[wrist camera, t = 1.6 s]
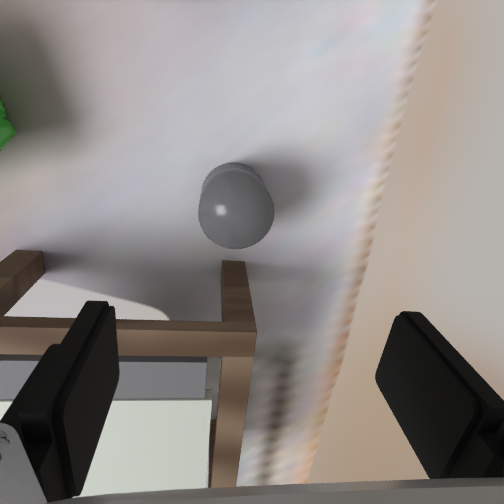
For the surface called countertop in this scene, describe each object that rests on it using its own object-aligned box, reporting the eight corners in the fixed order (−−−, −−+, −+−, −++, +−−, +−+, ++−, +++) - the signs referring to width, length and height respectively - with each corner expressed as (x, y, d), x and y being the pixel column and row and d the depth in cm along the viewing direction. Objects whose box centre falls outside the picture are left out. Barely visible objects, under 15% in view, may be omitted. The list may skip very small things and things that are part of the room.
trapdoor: (-7, 344, 21) (-22, 361, 20) (214, 348, 23) (214, 363, 22) (37, 506, 28) (28, 526, 27) (203, 498, 30) (202, 517, 29)
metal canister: (202, 159, 26) (200, 173, 22) (268, 165, 27) (278, 180, 22) (200, 222, 28) (197, 246, 24) (260, 226, 29) (269, 250, 24)
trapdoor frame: (15, 250, 28) (-82, 325, 19) (244, 261, 30) (256, 332, 21) (53, 435, 37) (1, 545, 28) (226, 432, 39) (229, 532, 30)
